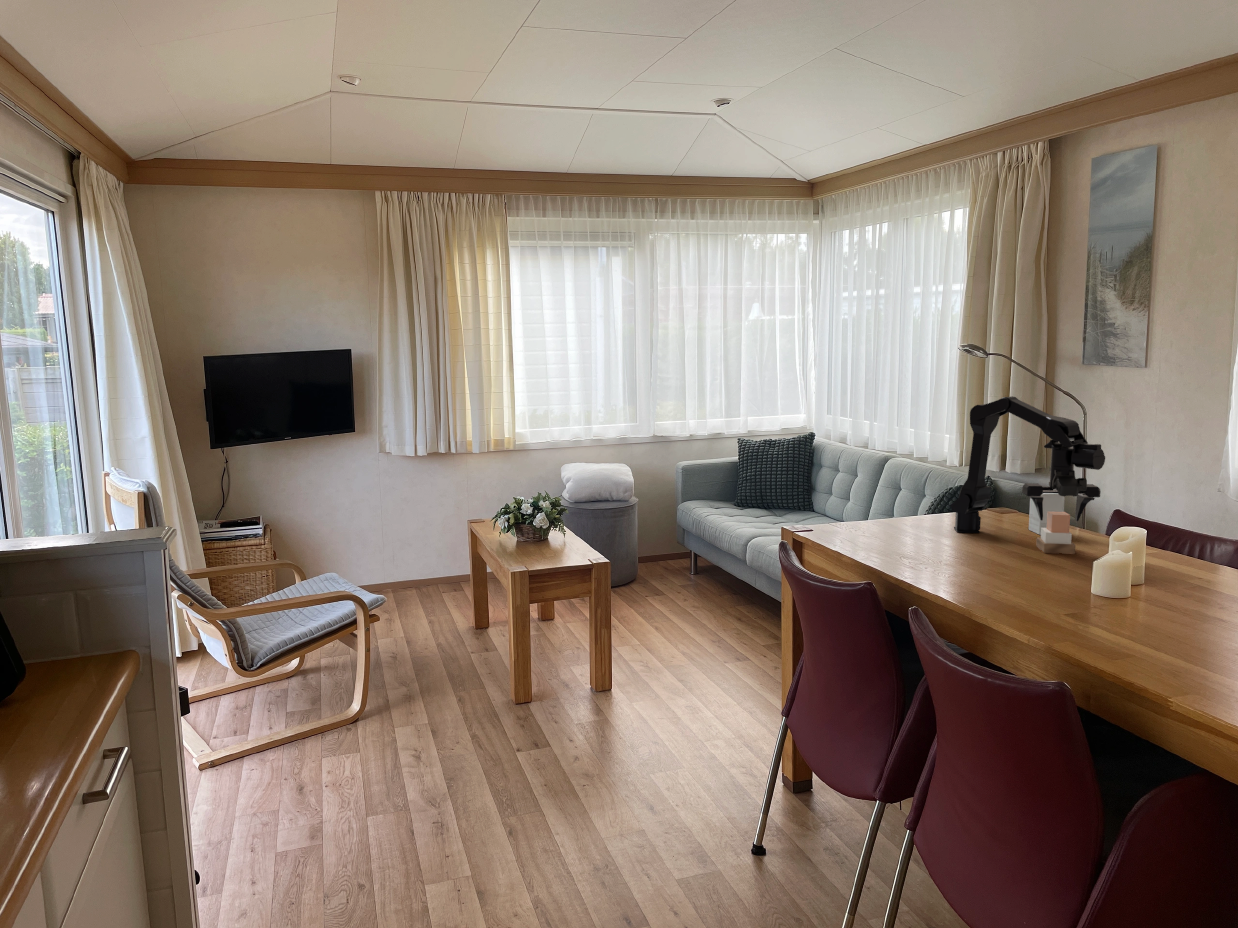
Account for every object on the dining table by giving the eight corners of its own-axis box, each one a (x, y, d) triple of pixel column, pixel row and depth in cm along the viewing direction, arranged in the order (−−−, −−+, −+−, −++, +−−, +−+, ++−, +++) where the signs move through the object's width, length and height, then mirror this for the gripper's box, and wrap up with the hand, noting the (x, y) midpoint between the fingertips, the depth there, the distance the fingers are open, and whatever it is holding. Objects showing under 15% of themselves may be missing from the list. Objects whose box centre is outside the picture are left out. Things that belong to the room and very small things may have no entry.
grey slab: (1045, 543, 239) (1045, 532, 239) (1040, 537, 246) (1041, 527, 245) (1071, 544, 238) (1071, 533, 237) (1065, 538, 244) (1066, 528, 243)
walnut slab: (1043, 554, 239) (1044, 543, 239) (1036, 547, 247) (1036, 537, 246) (1074, 555, 237) (1075, 544, 237) (1066, 548, 245) (1066, 538, 245)
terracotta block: (1051, 532, 239) (1052, 514, 238) (1046, 528, 244) (1047, 511, 243) (1069, 532, 238) (1070, 515, 237) (1063, 529, 243) (1064, 511, 242)
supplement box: (1063, 534, 260) (1065, 493, 258) (1038, 535, 260) (1040, 494, 258) (1051, 529, 267) (1054, 489, 265) (1027, 529, 267) (1029, 489, 265)
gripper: (1034, 469, 232) (1031, 526, 234) (1109, 470, 228) (1105, 527, 231) (1023, 463, 243) (1020, 517, 245) (1095, 464, 239) (1091, 519, 242)
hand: (1059, 520), depth 240 cm, fingers open, 9 cm apart
